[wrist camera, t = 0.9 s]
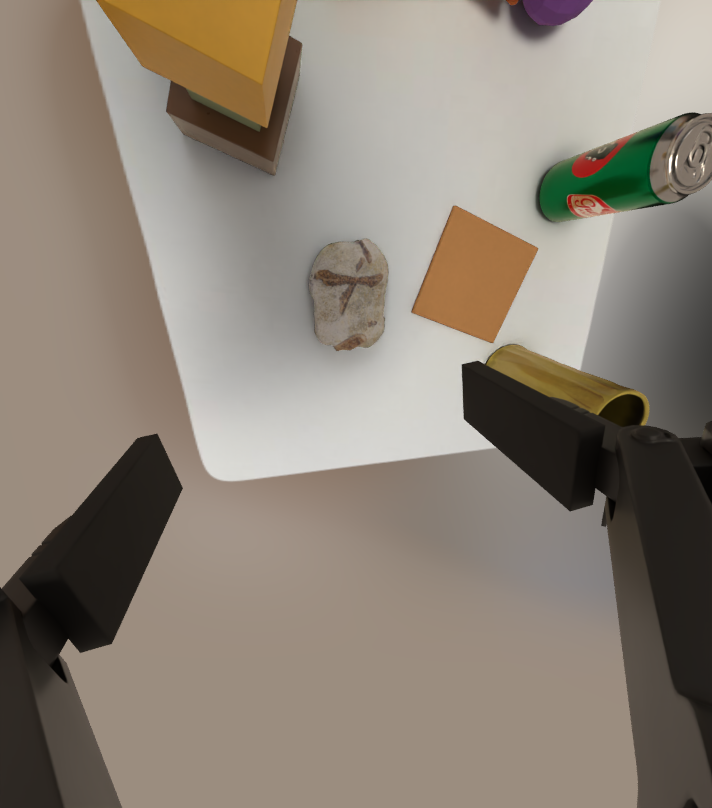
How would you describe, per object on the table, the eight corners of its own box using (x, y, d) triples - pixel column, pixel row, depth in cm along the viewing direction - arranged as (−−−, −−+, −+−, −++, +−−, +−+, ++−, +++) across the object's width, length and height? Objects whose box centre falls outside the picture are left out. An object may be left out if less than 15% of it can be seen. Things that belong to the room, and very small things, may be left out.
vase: (489, 404, 40) (589, 471, 27) (475, 359, 37) (578, 409, 24) (535, 380, 40) (657, 435, 27) (524, 334, 37) (653, 370, 24)
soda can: (528, 217, 33) (651, 192, 22) (545, 156, 31) (688, 94, 20) (571, 227, 34) (708, 207, 23) (590, 168, 32) (748, 116, 21)
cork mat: (453, 205, 31) (455, 205, 31) (536, 248, 34) (538, 248, 34) (411, 312, 34) (412, 312, 33) (490, 342, 37) (493, 343, 36)
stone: (303, 243, 30) (304, 241, 27) (383, 238, 31) (391, 235, 28) (315, 350, 33) (317, 356, 31) (387, 342, 34) (394, 348, 32)
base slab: (201, 20, 23) (186, -26, 20) (299, 75, 25) (302, 42, 22) (182, 133, 25) (165, 111, 22) (274, 176, 27) (273, 162, 24)
